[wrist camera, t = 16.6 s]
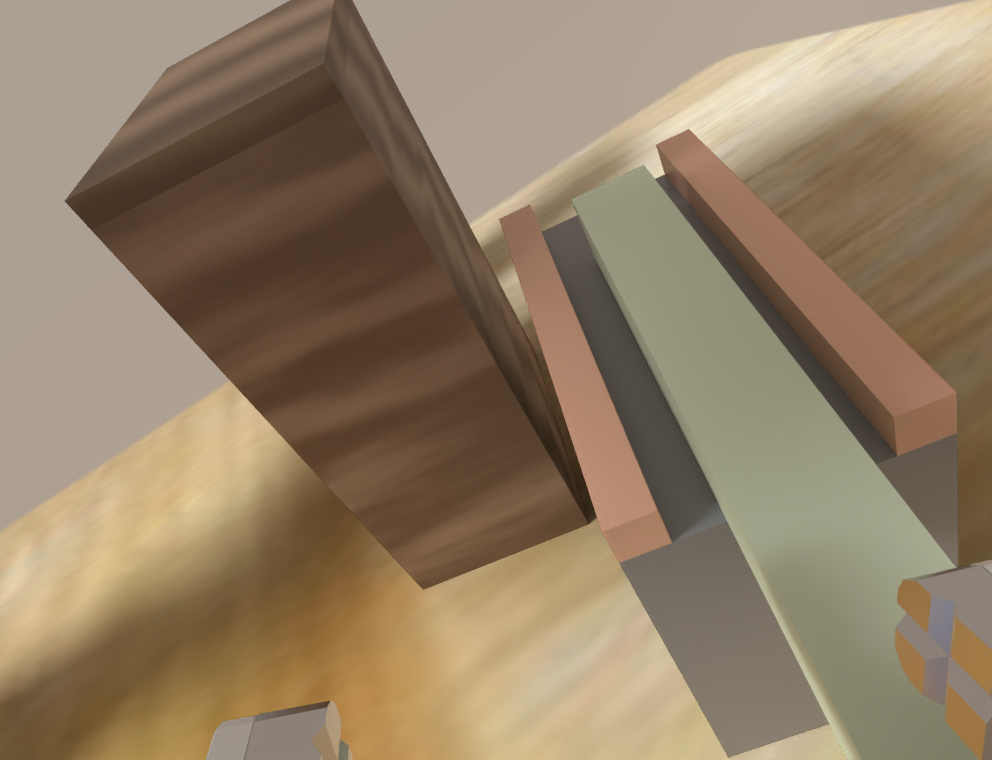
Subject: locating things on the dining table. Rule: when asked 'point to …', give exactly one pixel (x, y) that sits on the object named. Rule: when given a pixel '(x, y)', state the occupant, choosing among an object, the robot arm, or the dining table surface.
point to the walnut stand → (339, 286)
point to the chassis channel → (670, 461)
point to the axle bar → (777, 472)
